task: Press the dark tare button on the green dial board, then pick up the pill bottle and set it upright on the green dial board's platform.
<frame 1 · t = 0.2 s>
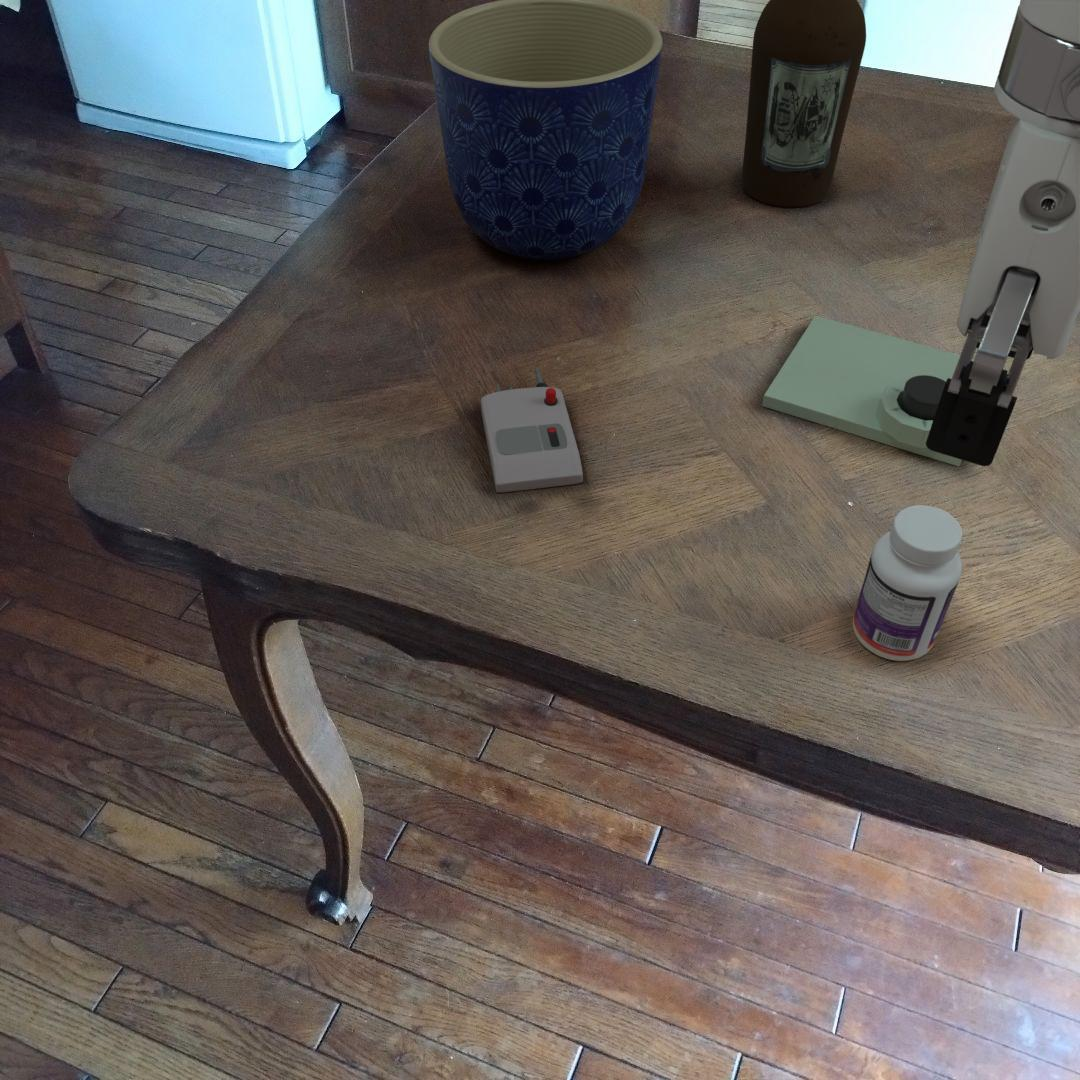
hand: (979, 400, 55), 20 cm above the table, tool pointing down, fingers open, 9 cm apart
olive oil: (784, 188, 113), on the table
tare button: (926, 398, 82), point 3 cm above the table, slide at 0.1 cm
remote control: (528, 440, 85), on the table
planter: (547, 234, 107), on the table
pill bottle: (891, 633, 70), on the table
green dial board: (880, 391, 88), on the table
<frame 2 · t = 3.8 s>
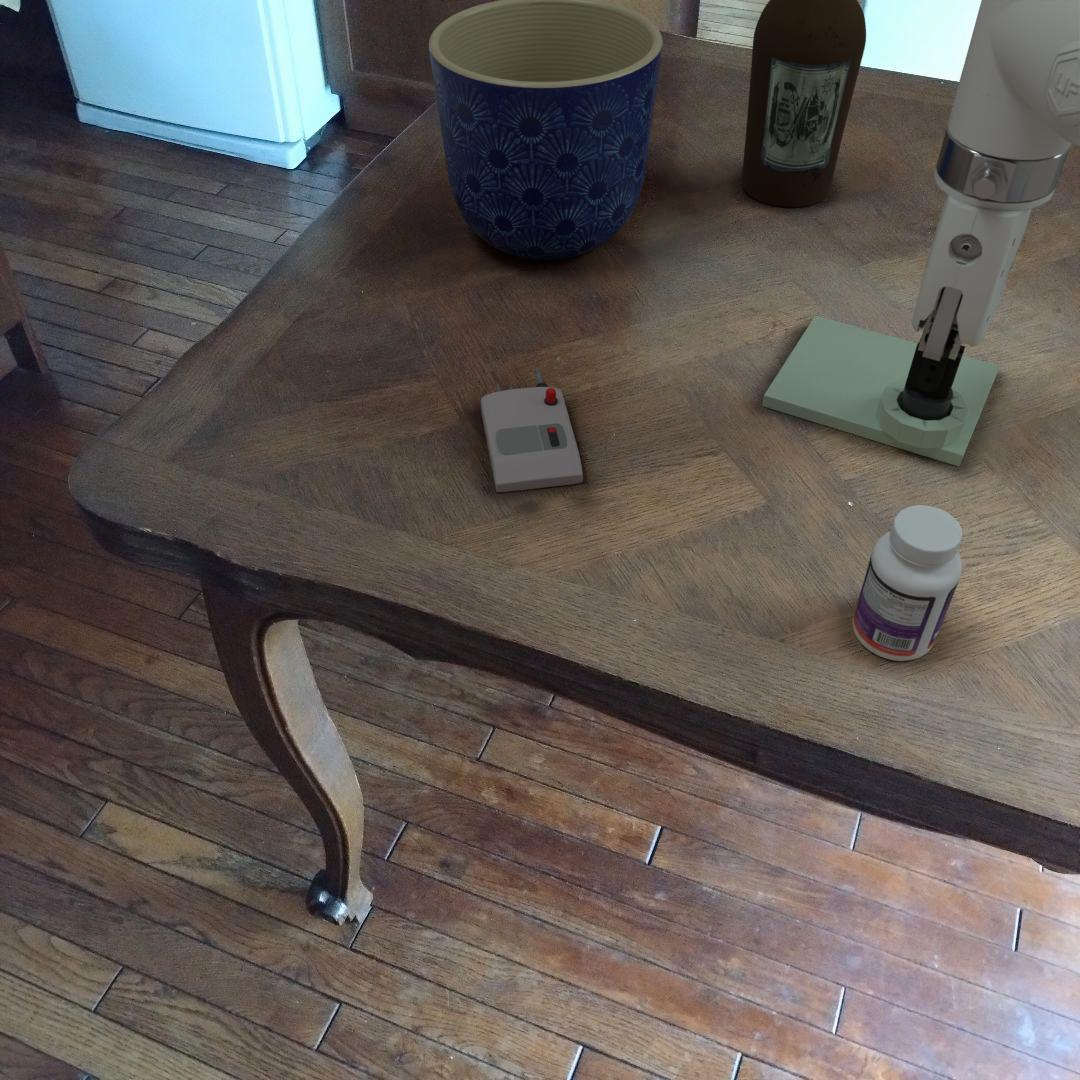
hand: (927, 388, 81), 4 cm above the table, tool pointing down, fingers closed
tare button: (926, 399, 82), point 3 cm above the table, slide at 0.0 cm, touching gripper
everything else where it was.
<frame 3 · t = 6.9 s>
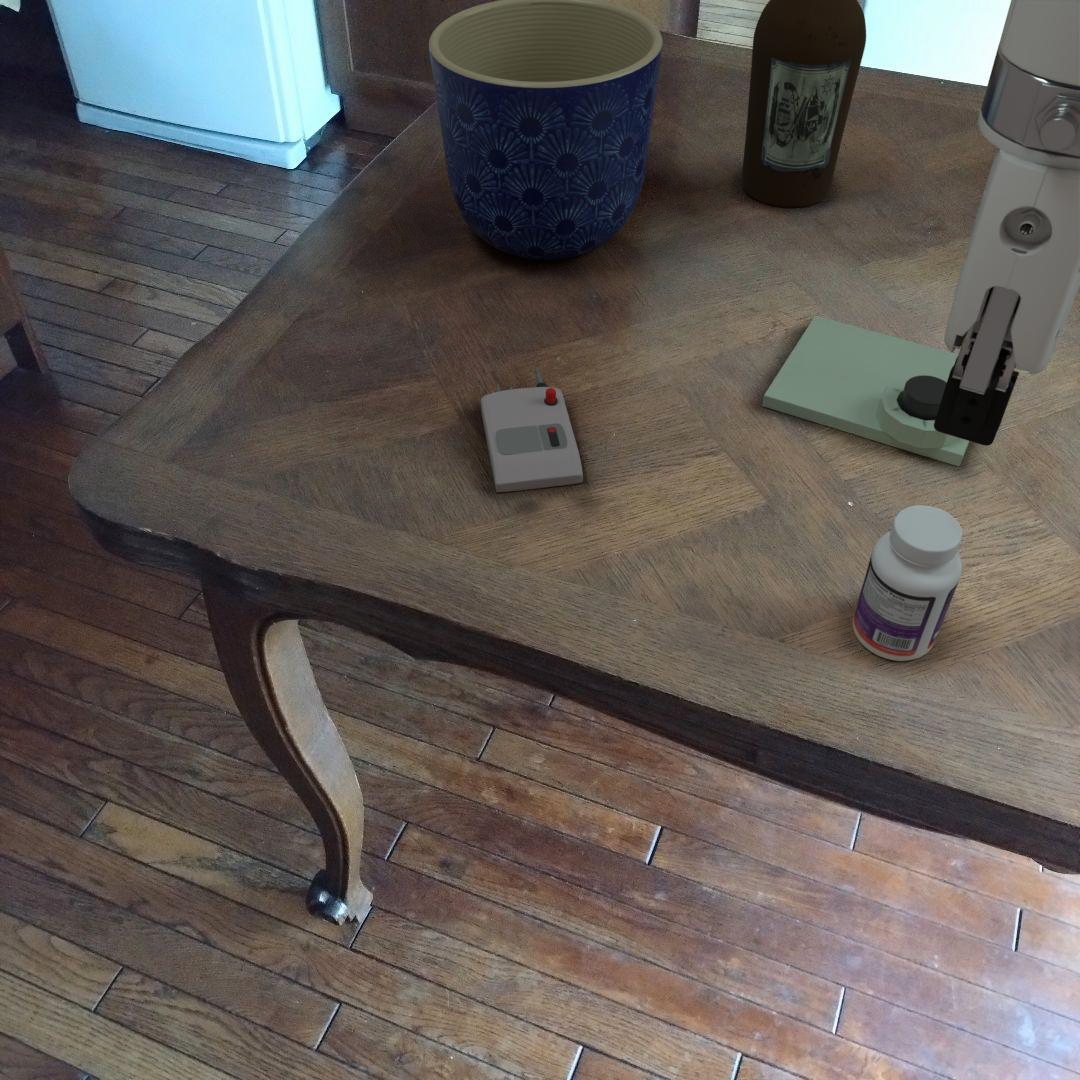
hand: (965, 429, 59), 17 cm above the table, tool pointing down, fingers closed
tare button: (926, 398, 82), point 3 cm above the table, slide at 0.1 cm
everything else where it was.
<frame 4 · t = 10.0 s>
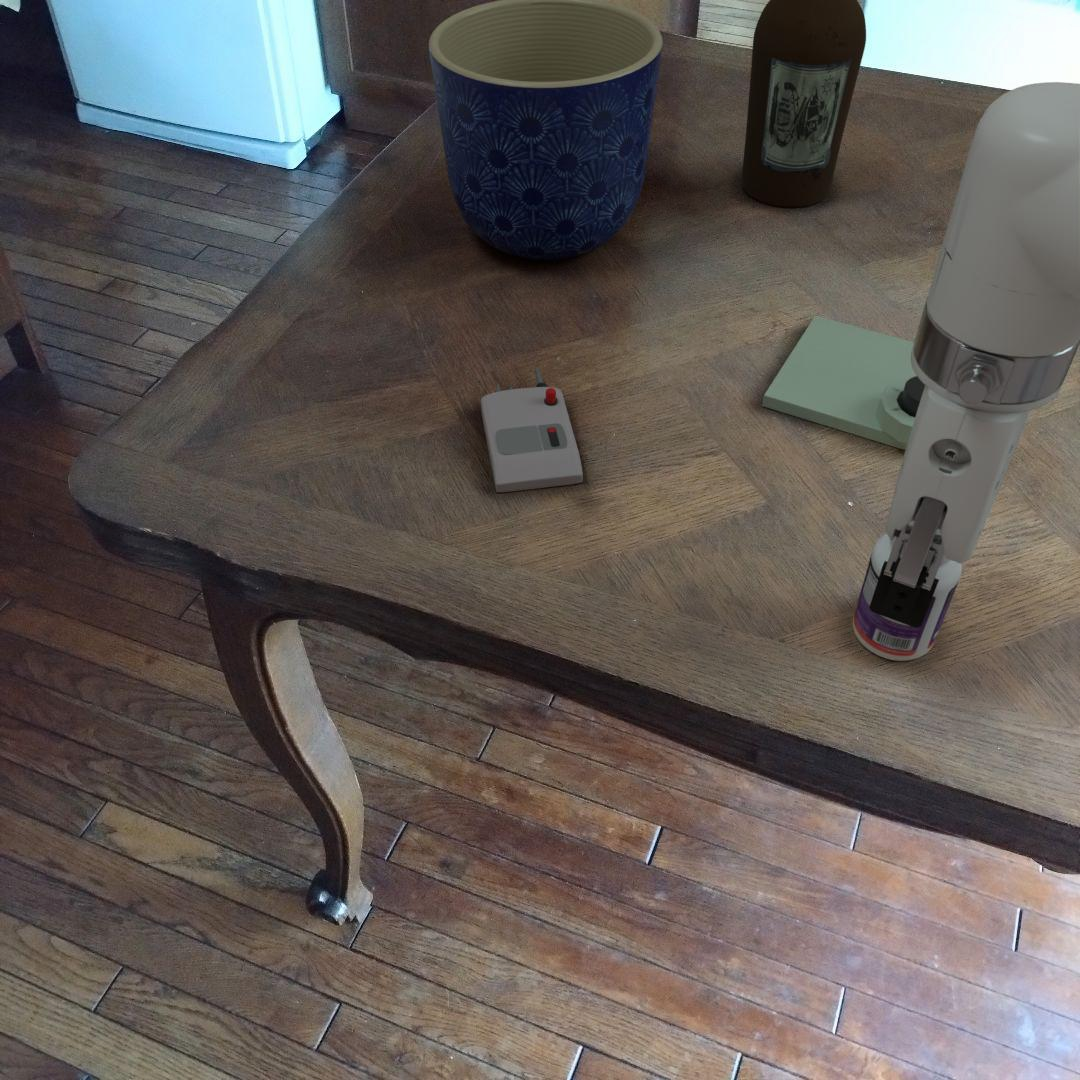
hand: (909, 581, 67), 5 cm above the table, tool pointing down, fingers closed on pill bottle, 5 cm apart
pill bottle: (891, 633, 70), on the table, touching gripper
everything else where it was.
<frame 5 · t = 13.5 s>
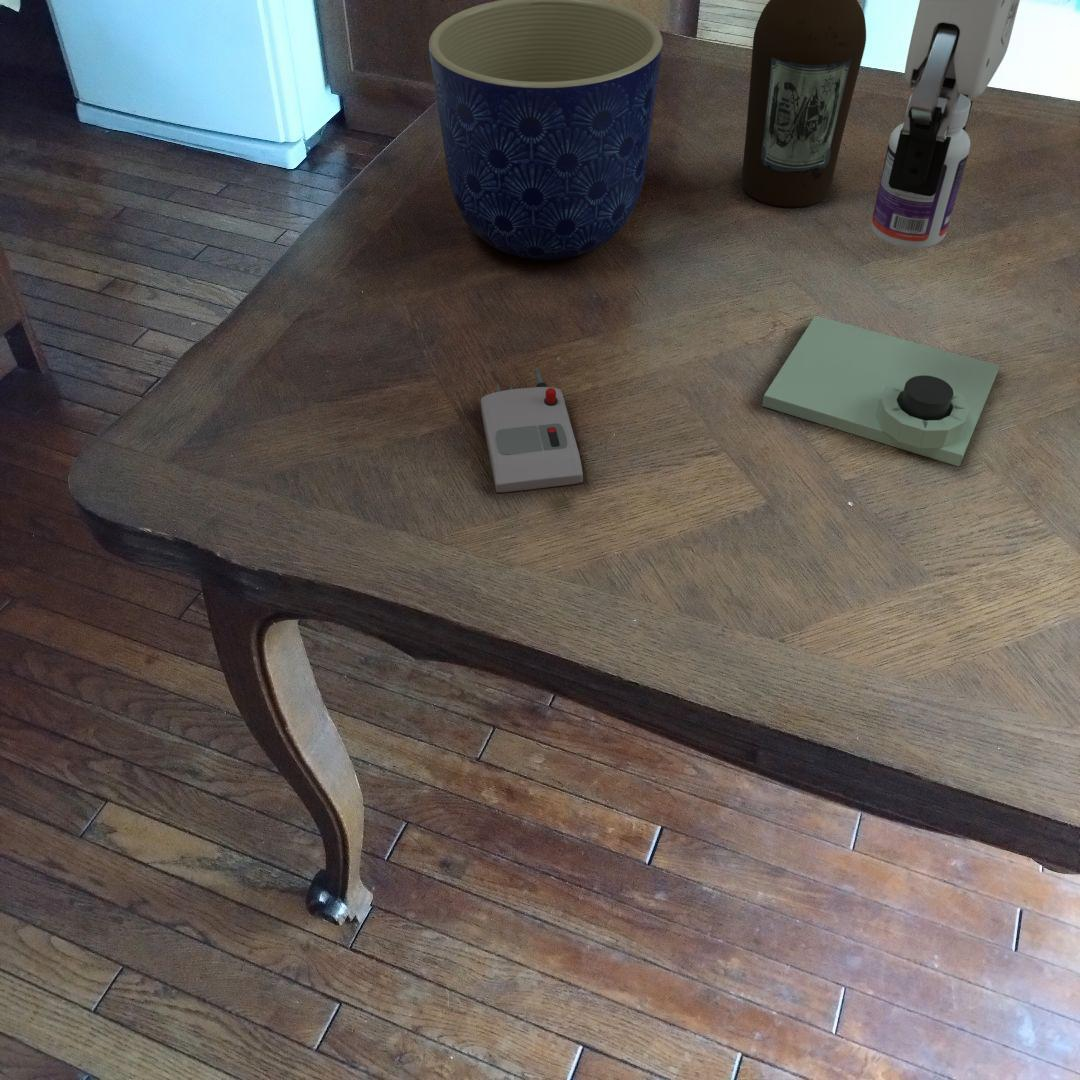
hand: (923, 169, 74), 19 cm above the table, tool pointing down, fingers closed on pill bottle, 5 cm apart
pill bottle: (906, 234, 78), point 14 cm above the table, touching gripper
everything else where it was.
when the fingers open (6 cm above the table, at t = 17.3 s): pill bottle stays where it is, resting on green dial board.
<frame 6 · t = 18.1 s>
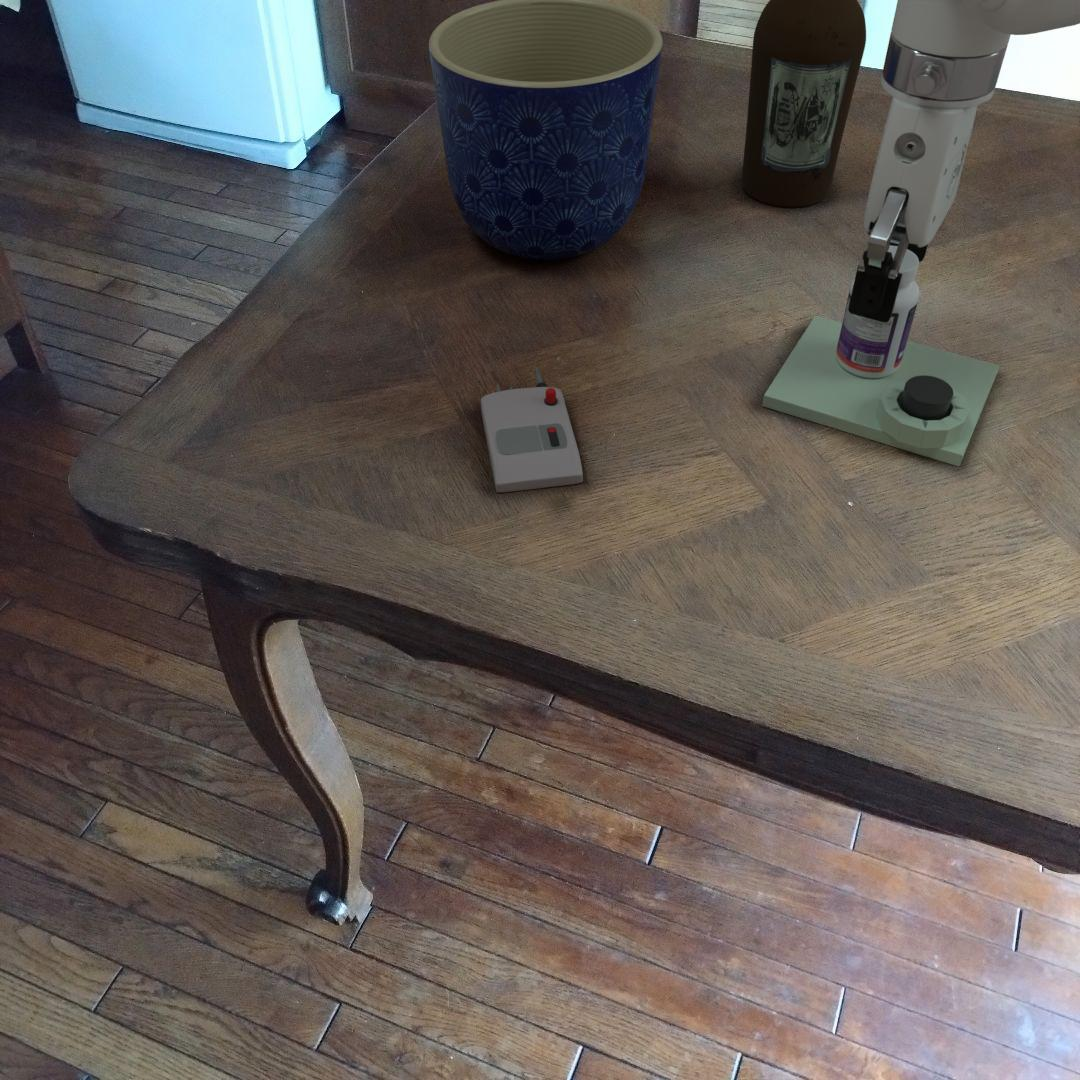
hand: (886, 285, 84), 8 cm above the table, tool pointing down, fingers open, 9 cm apart
pill bottle: (866, 362, 89), point 1 cm above the table, touching green dial board
everything else where it was.
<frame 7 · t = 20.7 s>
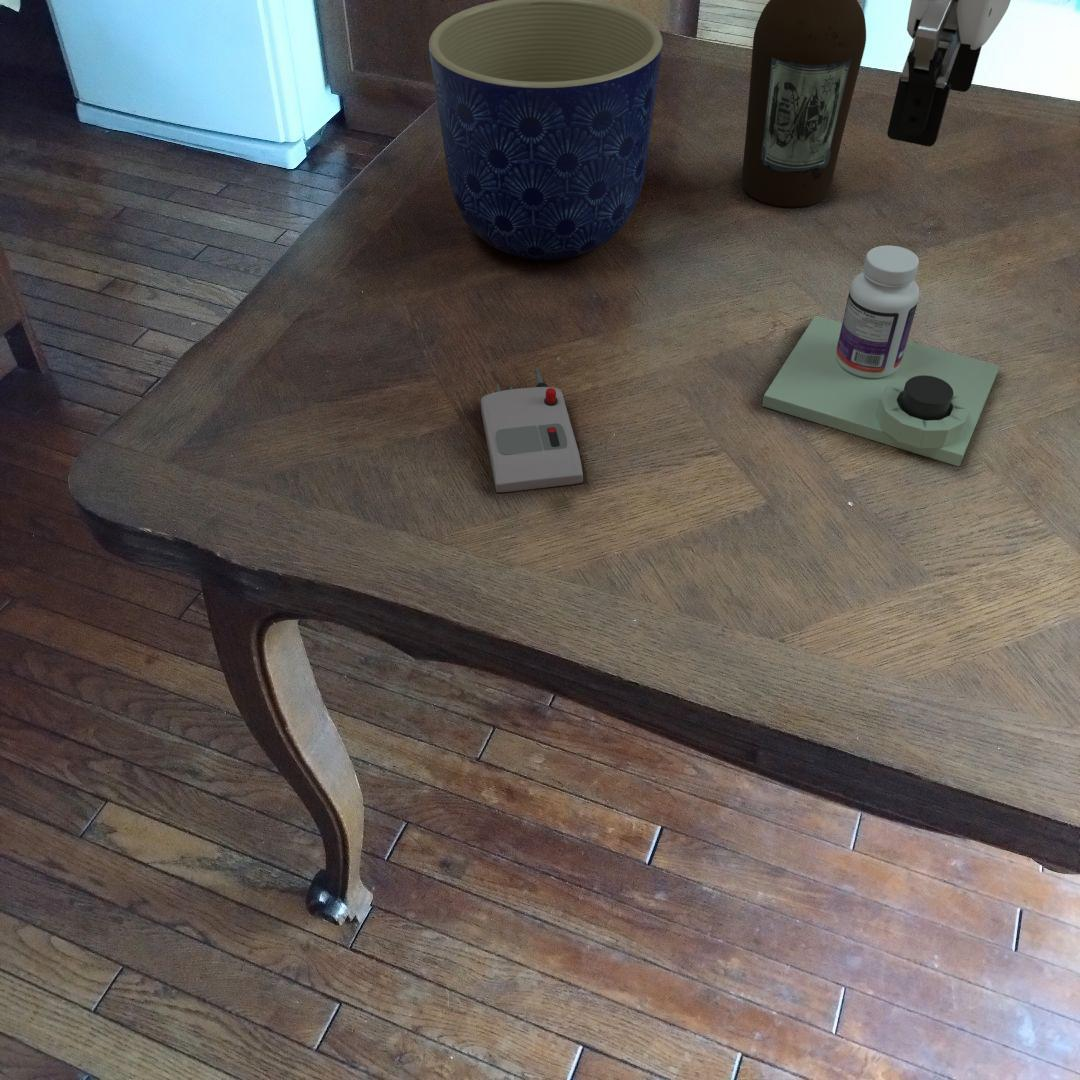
hand: (929, 113, 74), 22 cm above the table, tool pointing down, fingers open, 9 cm apart
nothing on the table moved.
at the end: tare button pushed in 1.1 cm at the most during the clip, back to where it started at the end; pill bottle inside the target area on the green dial board (2.8 cm from its centre), point 1.0 cm above the green dial board's base; pill bottle touching green dial board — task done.
